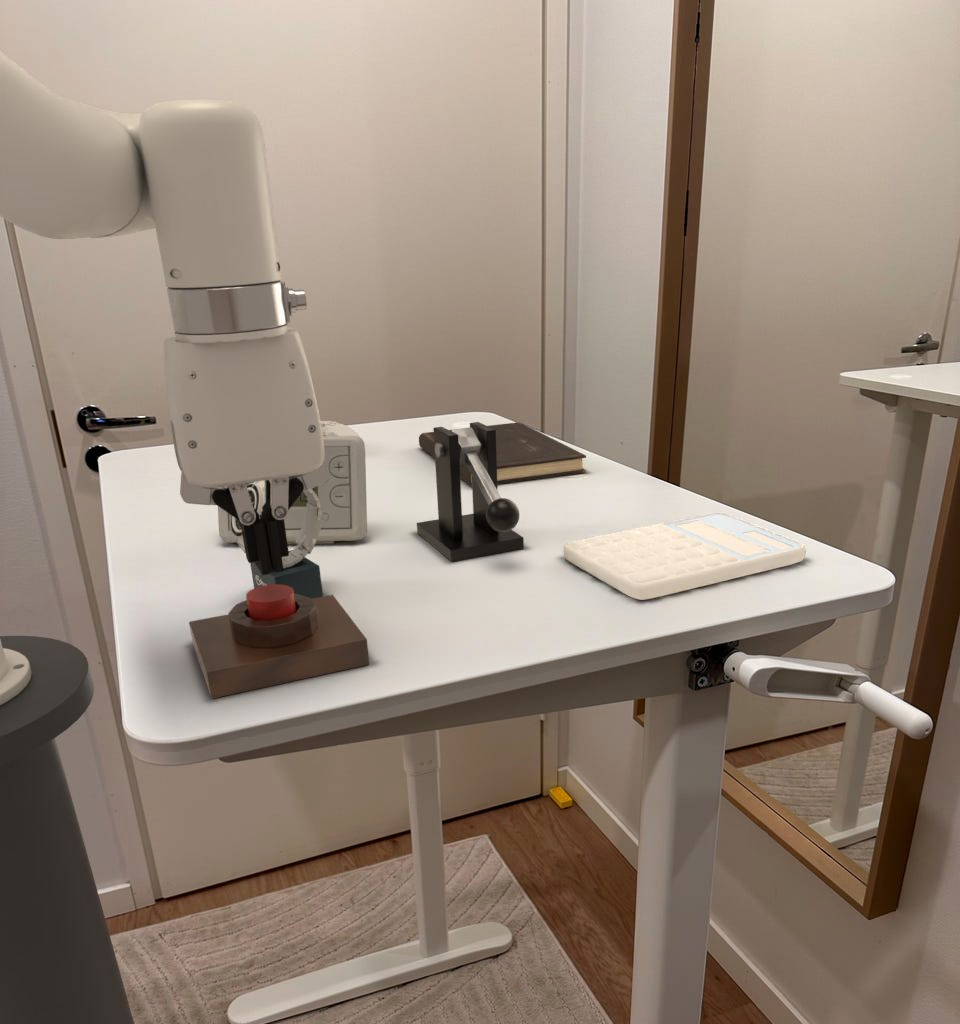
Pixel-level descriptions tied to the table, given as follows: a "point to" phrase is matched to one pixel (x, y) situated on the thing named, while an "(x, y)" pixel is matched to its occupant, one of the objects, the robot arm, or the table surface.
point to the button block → (276, 646)
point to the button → (271, 602)
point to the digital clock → (328, 496)
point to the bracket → (452, 528)
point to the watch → (296, 566)
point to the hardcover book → (522, 455)
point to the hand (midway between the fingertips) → (269, 567)
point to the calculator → (682, 554)
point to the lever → (486, 483)
